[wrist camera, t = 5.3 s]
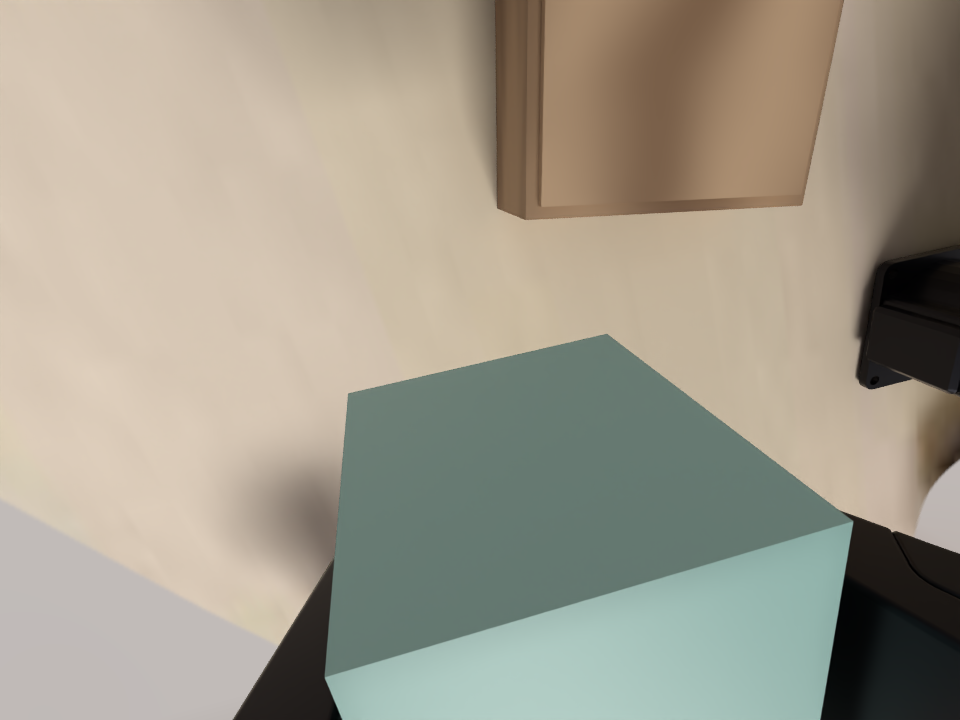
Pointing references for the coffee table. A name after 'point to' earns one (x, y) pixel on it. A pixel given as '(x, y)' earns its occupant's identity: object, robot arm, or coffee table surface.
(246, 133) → the coffee table surface
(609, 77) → the walnut box
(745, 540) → the teal block
